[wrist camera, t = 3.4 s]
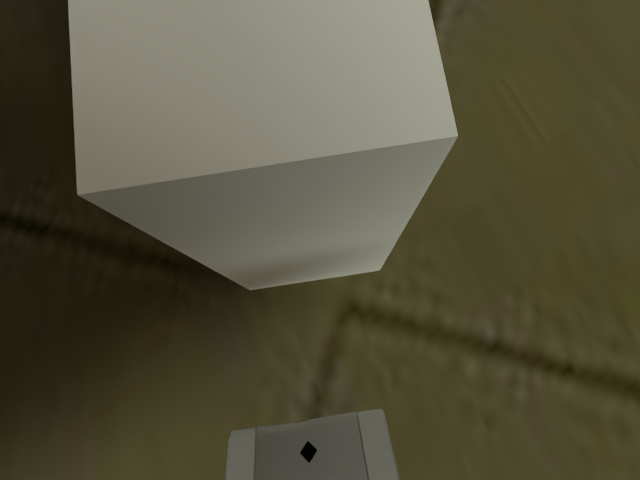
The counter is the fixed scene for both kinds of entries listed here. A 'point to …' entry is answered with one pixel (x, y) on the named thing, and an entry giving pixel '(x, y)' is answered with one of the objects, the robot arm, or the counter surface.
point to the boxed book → (260, 127)
